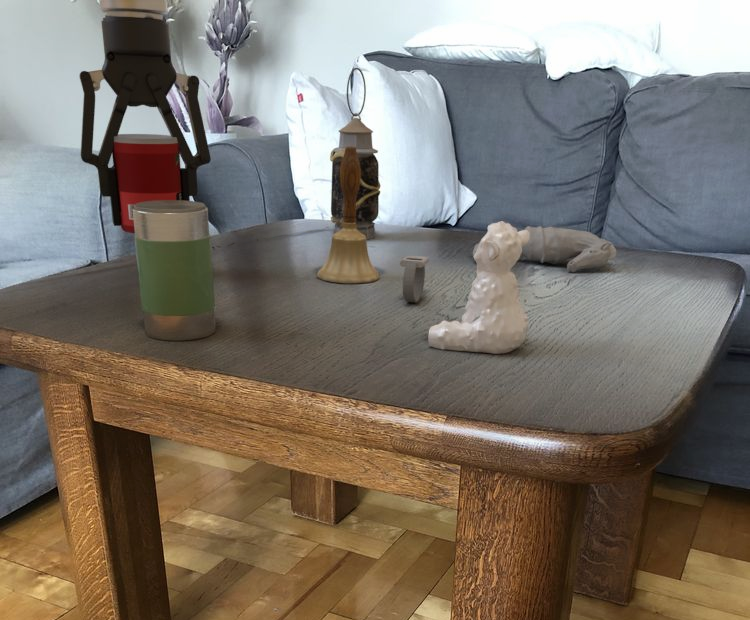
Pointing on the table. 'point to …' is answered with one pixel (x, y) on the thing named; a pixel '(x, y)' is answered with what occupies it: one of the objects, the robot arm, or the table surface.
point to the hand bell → (349, 233)
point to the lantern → (369, 180)
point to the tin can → (175, 269)
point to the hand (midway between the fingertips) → (152, 223)
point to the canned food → (145, 172)
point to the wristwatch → (413, 277)
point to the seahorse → (566, 248)
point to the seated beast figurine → (490, 299)
